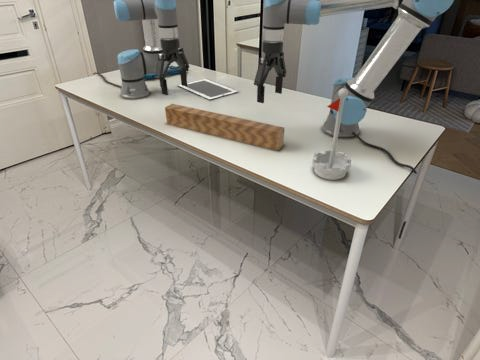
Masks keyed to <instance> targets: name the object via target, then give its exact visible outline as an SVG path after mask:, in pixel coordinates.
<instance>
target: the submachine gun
mask: <svg viewBox="0 0 480 360" xmlns="http://www.w3.org/2000/svg"><path fill="white" fill-rule="evenodd" d="M180 71H182V70H181V69H180V67H179V66H178V65H176V66H175V65H172V64H171V65H169V70H168V71H167V74H166V76H170V75H174V74H180ZM155 75H156V74H148V75H143V78H144V81H145V80H149V79H150V80H151V79H152V80H156V78H155Z"/></svg>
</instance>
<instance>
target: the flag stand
mask: <svg viewBox="0 0 480 360" xmlns="http://www.w3.org/2000/svg"><path fill="white" fill-rule="evenodd" d="M338 95H339V97H340V98H339V99H338V100H336V101H335V102H333V103H332V104H331V103H330V104H328V105H326V107H327V108H329V109H330V108H331V109H333V110H336V111H338V112H337V118H336V124H335V130H334V136H332V143H331V148H330V149H329V148H328V149H324V152H321V151H320V150H317V151H315V152H314V154H313V155H314V156H312V166H313V168H314V169H313V170H314V173H315V174H316V175H317V176H318V177H320V178H322V179H325V180H330V181H333V180H340V179H343V178H345V176H346V173H347V172H348V171H350V169H351V166H352V158H351V157H350V156H346V153H345V152H343V151H339V150H338V151H337V145H338V138H339V137H338V134H339V128H340V123H341V117H342V111H343V105H344V99H345V97H346V96H347V95H348V91H347V90H346V89H344V88H342V89H340V90H339V92H338ZM336 151H337V152H336Z"/></svg>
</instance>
